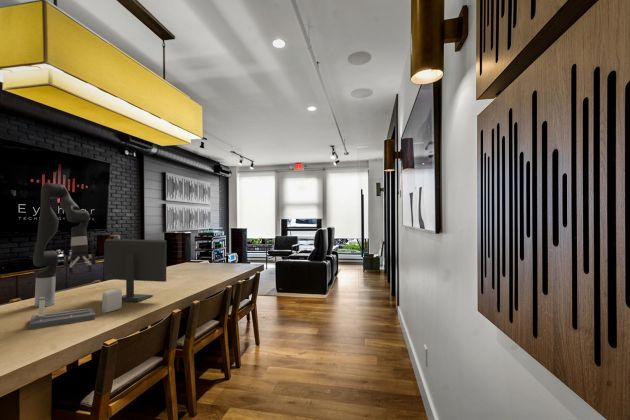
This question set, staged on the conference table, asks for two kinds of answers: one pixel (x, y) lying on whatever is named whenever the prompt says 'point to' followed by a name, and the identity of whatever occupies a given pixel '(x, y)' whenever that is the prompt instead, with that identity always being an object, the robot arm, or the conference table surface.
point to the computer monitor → (135, 263)
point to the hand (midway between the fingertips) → (80, 273)
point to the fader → (41, 307)
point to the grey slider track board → (61, 318)
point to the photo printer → (111, 300)
